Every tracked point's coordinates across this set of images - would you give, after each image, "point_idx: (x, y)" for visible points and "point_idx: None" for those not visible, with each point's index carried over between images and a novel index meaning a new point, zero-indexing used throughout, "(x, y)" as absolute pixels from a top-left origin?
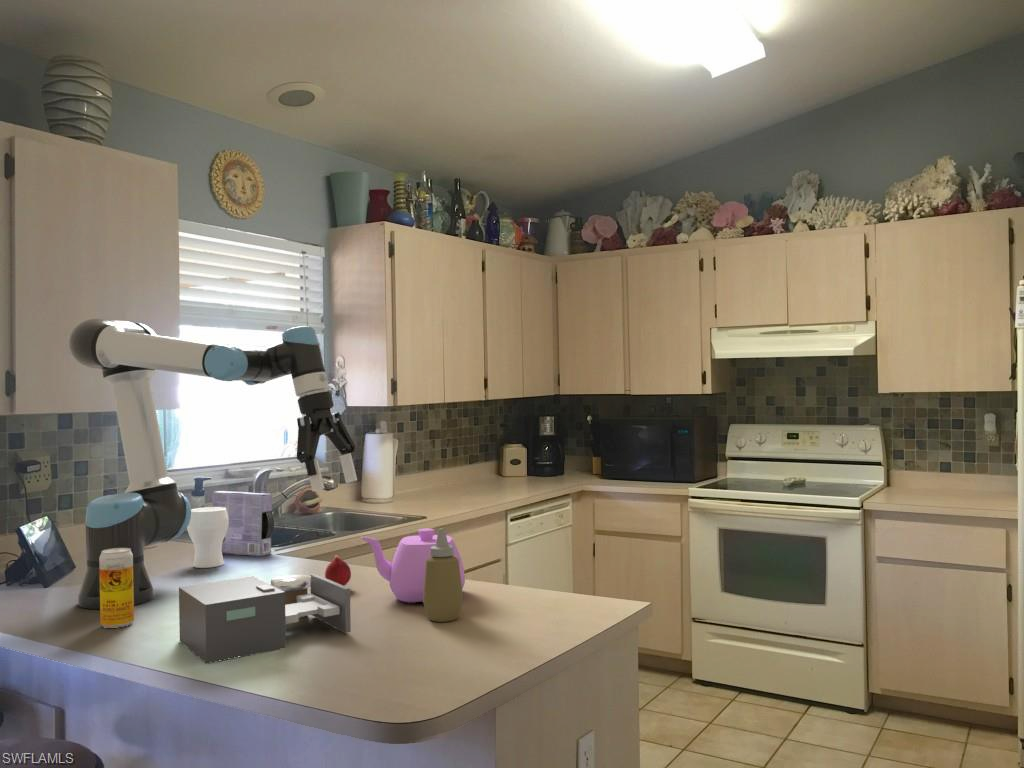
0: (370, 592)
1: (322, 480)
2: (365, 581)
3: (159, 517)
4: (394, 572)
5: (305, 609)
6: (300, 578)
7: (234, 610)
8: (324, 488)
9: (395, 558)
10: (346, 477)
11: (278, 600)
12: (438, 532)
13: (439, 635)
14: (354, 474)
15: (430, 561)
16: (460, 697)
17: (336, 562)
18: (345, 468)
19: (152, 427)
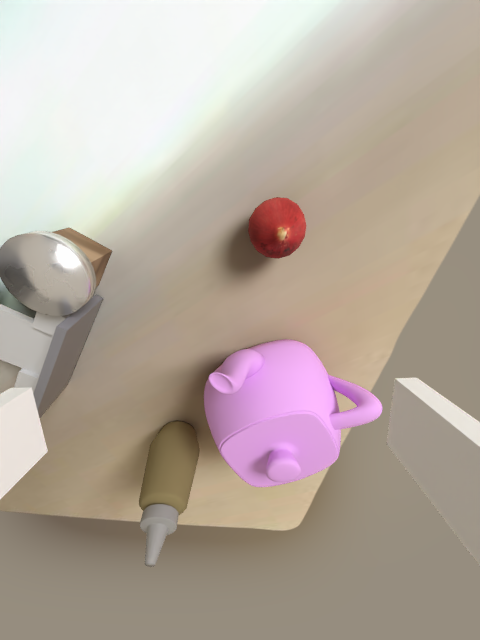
0: (271, 291)
1: (3, 493)
2: (353, 234)
3: None
4: (213, 393)
5: (9, 354)
6: (59, 294)
7: None
8: (45, 451)
9: (227, 403)
10: (415, 413)
11: None
12: (146, 555)
13: (124, 449)
14: (415, 476)
15: (141, 501)
16: (10, 506)
17: (267, 239)
18: (474, 476)
19: None
